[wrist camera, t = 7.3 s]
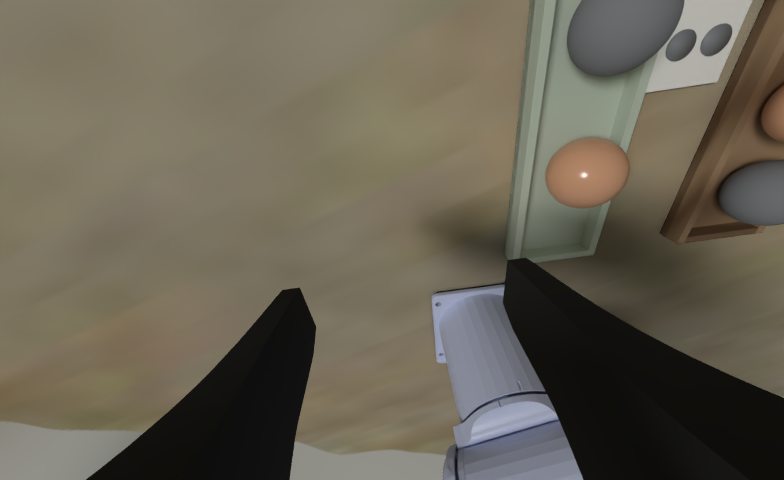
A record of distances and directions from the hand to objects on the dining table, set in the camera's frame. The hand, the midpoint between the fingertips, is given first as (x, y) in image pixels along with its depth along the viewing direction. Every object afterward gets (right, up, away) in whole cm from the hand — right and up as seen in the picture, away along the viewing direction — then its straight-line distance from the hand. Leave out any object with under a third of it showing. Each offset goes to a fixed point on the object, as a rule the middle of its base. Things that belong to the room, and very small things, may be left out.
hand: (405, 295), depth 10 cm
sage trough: (+13, +9, +7) cm, 17 cm away
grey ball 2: (+23, +5, +8) cm, 24 cm away
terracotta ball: (+11, +6, +6) cm, 14 cm away
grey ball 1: (+10, +12, +3) cm, 15 cm away
